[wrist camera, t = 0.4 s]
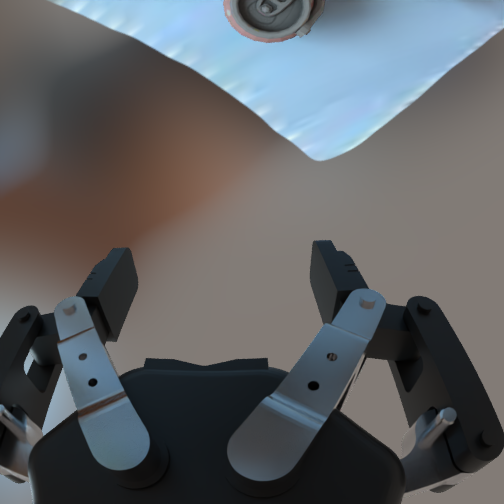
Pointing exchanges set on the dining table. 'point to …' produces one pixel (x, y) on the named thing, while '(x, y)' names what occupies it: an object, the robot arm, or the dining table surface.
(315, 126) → the dining table surface
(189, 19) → the dining table surface
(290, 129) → the dining table surface
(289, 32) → the beverage can
